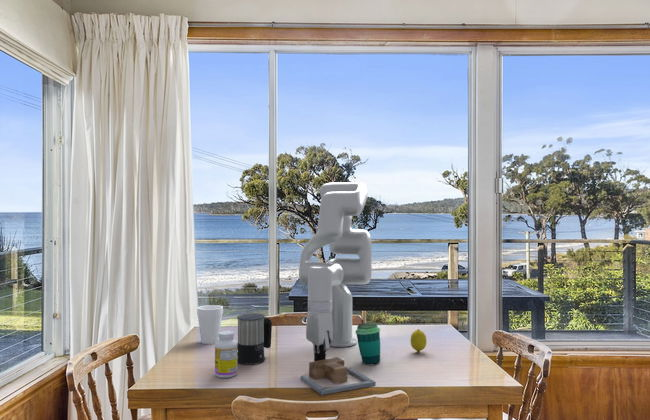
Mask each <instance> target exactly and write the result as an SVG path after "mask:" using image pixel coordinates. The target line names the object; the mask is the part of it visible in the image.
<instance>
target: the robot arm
mask: <svg viewBox="0 0 650 420" xmlns="http://www.w3.org/2000/svg"><path fill="white" fill-rule="evenodd" d="M319 192H320V193H319V194H320V205H319V213H318V222H317V230H316V233H315V234H314V235H313V236H312V237H311V238H310V239H309V240H308V241H307V242H306V244H305V245H304V247H303V248H302V251H301V254H300V261H299V266H298V267H299V268H298V277H299V282H300V283H301V284H303V285H304V286H307V316H306V326H305V327H306V328H305V329H306V330H305V339H306V340H307V341H308V342H310V343H312V345H313V349H312V350H313V361H319V360H324V359H327V355H326V354H327V351H328V350H330V347H332V348H333V347H335V348H344V347H345V348H348V347H353V346H355V345H356V344H357V339H356V338H355V337H354V336H353V294H352V292H351V291H350V289H349V288H348V286H347V285H368V284H369V283H370V282H371V280H372V270H373V269H372V265H373V264H372V263H373V261H372V256H373V255H372V253H373V252H372V250H373V249H372V248H373V246H372V237H371V234H370V232H369V231H368V230H366V229H354V228H352V227H353V225H352V219H353V218H352V217H354V216H355V217H358V216H360V215H361V214H362V212H363V210H364V208H365V205H366V203H367V200H368V189H367V185H366V184H365V183H363V182H360V181H359V182H356V181H354V182H353V181H352V182H351V181H349V182H346V181H345V182H344V181H343V182H342V181H341V182H339V181H338V182H335V181H333V182H327V183H323V184H322V185H321V187H320V190H319ZM327 245H328V246H329V247H328V248H329V251H330V252H331V253H332V254H334V255H342V256H343V255H346V256H358V258H350V257H349V258H347V257H346V258H345V257H343V258H341V257H338V258H337V257H335V258H331V259H329V260H327V261H326V262H320V261H319V262H317V261H314V262H313V261H312V262H311V258H312V256H313V255H314V254H315V252H317V251H318V250H319V249H321V248H323V247H325V246H327Z"/></svg>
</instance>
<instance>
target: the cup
mask: <svg viewBox="0 0 650 420" xmlns="http://www.w3.org/2000/svg"><path fill="white" fill-rule="evenodd" d="M380 332H381V328H380V327H379V326H378V324H376V323H370V322H369V323H368V322H367V323H366V322H365V323H359V324H358V325H357V327H356V330H355V334H356V338H357V339H356V340H357V345H358V350H359V354H360V357H361V363H362V364H364V365H367V366H368V365H369V366H375V365H379V364H380V362H381V338H380V335H381V334H380Z"/></svg>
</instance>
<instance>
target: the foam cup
mask: <svg viewBox="0 0 650 420" xmlns="http://www.w3.org/2000/svg"><path fill="white" fill-rule="evenodd" d="M196 308H197V309H196V311H197V312H196V314H197V318H198V325H199V334H200V335H199V336H200V342H201V344H202V345H213V344H214V345H215V343H216V342H217V341H218V340H219V337H218V333H219V332H221V328H222V317H223V313H224V306H223V305H218V304H207V305H206V304H205V305H201V306H198V307H196Z"/></svg>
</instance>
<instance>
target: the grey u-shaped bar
mask: <svg viewBox="0 0 650 420" xmlns="http://www.w3.org/2000/svg"><path fill="white" fill-rule="evenodd" d="M347 374H350V375H352V376H353V377H354V378H356V379H359V380H360V381H361V382H360V381H359V382H355V383H349V384H343V385H337V386H333V387H332V386H331V387H327V388H324V387H323V386H321V385H320V384H319V383H317V382H316V381H314V380H313V379H311V377H310V376H307V375H306V374H302V375H300V377H299V378H300V381H302V382H304V383H305V384H306V385H308V386H309V387H310V388H312V389H313V390H314V391H316V392H317V393H318V394H320V395H321V396H324V395H329V394H335V393H341V392H346V391H347V392H348V391H351V390H357V389H358V390H359V389H362V388H367V387H368V388H369V387H373V386H376V383H377V382H376V381H375V380H374V379H372V378H370V377H368V376H366V375H364V374H362V373H361V372H360V371H358V370H356V369H354V368H352V367H347Z"/></svg>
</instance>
